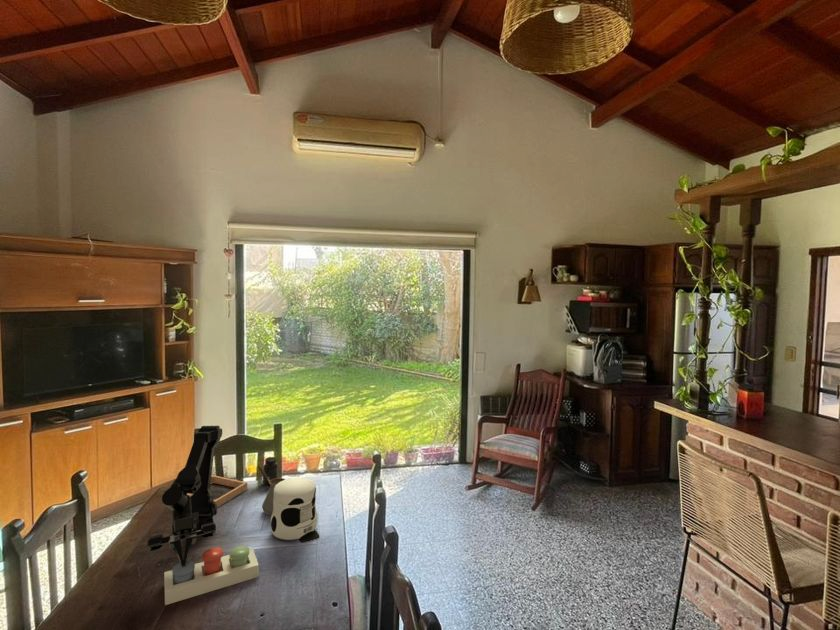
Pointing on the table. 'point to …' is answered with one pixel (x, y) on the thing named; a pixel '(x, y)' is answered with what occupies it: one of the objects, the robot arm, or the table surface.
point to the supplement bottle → (270, 470)
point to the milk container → (294, 509)
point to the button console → (209, 579)
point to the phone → (310, 537)
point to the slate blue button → (183, 572)
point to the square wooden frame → (237, 484)
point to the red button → (212, 561)
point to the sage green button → (239, 556)
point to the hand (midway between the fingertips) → (183, 565)
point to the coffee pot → (269, 493)
